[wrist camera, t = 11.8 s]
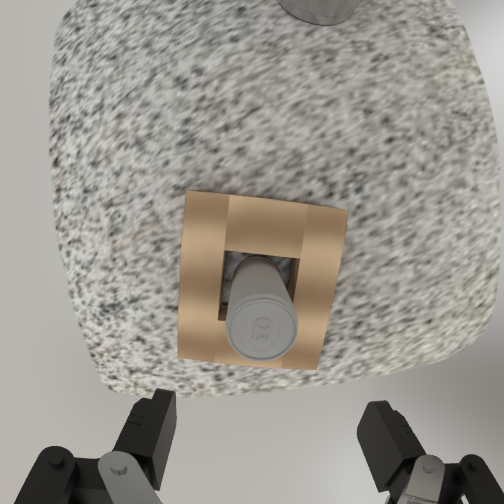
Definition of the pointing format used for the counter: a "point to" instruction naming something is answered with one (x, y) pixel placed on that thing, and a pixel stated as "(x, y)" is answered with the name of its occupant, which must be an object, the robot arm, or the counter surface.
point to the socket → (258, 242)
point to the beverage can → (260, 312)
